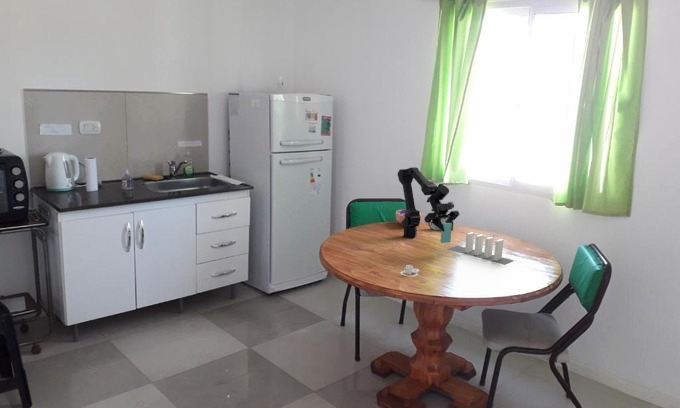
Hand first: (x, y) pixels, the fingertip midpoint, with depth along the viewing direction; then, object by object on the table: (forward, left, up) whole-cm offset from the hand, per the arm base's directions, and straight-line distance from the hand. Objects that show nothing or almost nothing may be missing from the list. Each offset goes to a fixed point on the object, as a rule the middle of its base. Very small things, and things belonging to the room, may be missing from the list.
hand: (448, 230), depth 267 cm
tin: (-14, +46, -13) cm, 50 cm away
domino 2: (+15, +7, -12) cm, 20 cm away
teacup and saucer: (-5, -38, -13) cm, 41 cm away
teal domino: (-1, +1, -7) cm, 7 cm away
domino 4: (+25, +3, -12) cm, 28 cm away
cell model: (-34, +46, -13) cm, 59 cm away
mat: (+16, +7, -13) cm, 21 cm away
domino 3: (+20, +5, -12) cm, 24 cm away
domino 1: (+10, +9, -12) cm, 18 cm away
